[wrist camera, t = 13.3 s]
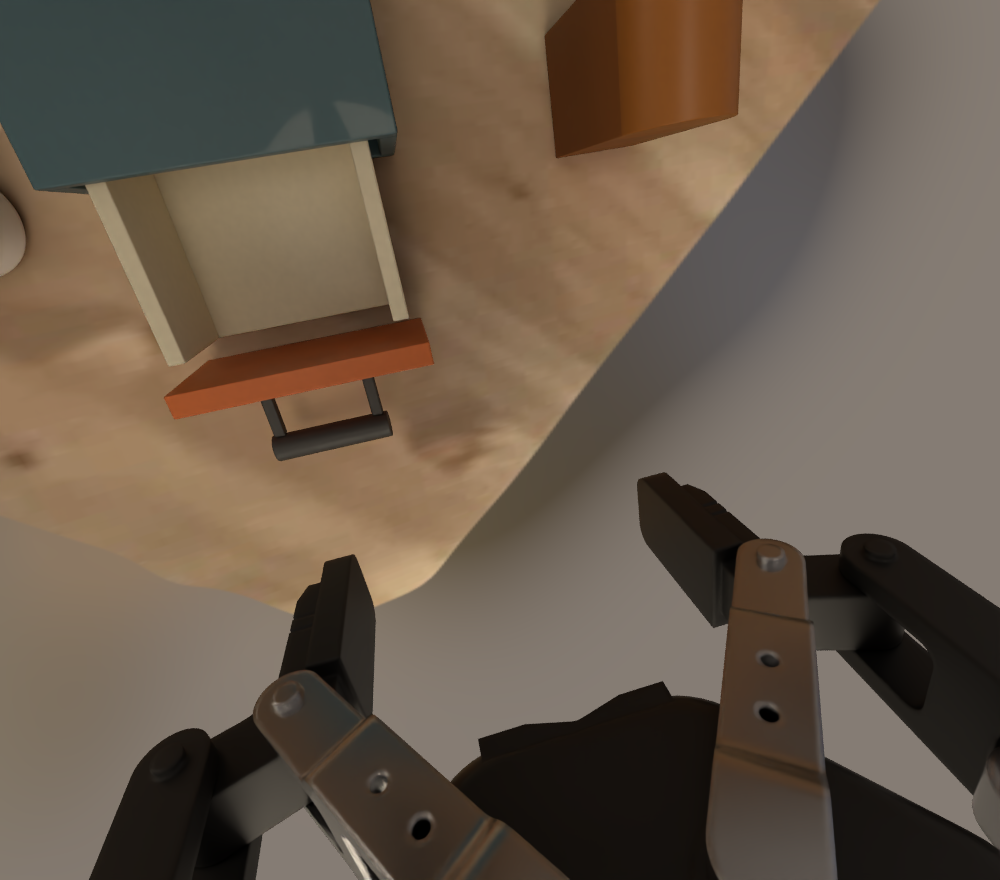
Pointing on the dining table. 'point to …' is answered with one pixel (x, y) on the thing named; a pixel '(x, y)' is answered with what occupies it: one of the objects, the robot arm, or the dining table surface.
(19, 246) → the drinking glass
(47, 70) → the cabinet
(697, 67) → the bread
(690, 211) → the dining table surface
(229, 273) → the drawer
